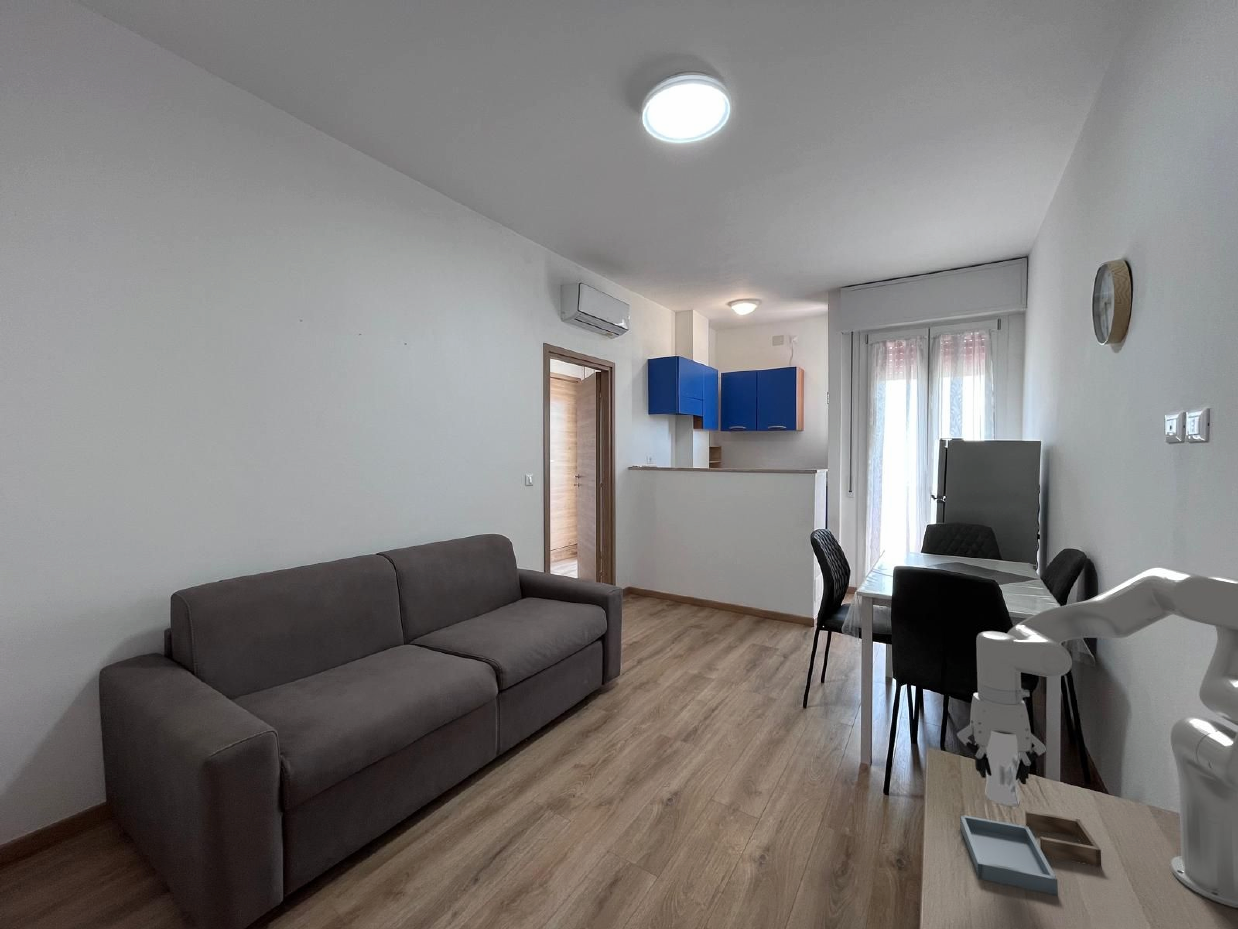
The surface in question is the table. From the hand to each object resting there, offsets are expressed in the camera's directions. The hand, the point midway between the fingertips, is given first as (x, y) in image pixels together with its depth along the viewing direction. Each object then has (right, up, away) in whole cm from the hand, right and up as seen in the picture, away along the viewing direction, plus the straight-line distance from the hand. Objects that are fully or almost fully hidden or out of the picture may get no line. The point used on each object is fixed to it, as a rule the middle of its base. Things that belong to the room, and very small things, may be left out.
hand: (1001, 777), depth 113 cm
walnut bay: (+15, -17, +3) cm, 23 cm away
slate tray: (+1, -17, 0) cm, 17 cm away
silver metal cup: (0, -5, 0) cm, 5 cm away
